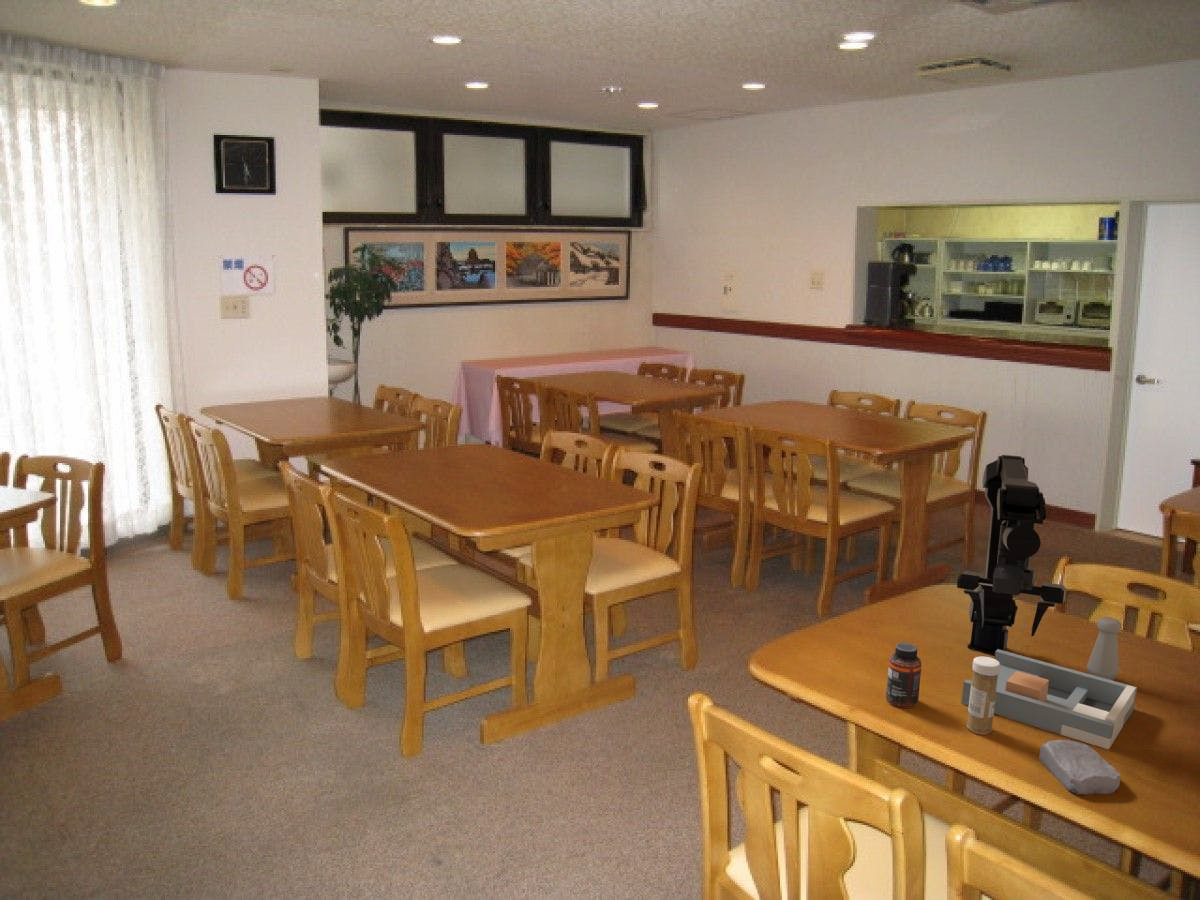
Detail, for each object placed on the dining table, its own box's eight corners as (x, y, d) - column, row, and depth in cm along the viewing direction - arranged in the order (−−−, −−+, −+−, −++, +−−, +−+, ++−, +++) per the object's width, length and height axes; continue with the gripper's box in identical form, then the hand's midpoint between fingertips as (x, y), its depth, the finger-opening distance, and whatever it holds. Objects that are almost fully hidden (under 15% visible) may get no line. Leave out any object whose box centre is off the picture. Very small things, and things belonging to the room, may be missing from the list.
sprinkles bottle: (997, 734, 183) (1006, 665, 180) (974, 736, 182) (983, 667, 179) (982, 722, 187) (990, 654, 184) (960, 724, 186) (968, 656, 183)
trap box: (961, 703, 194) (964, 679, 193) (995, 669, 209) (998, 646, 208) (1108, 749, 178) (1112, 723, 177) (1133, 709, 194) (1137, 684, 193)
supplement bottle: (918, 697, 196) (924, 643, 193) (917, 711, 190) (923, 655, 188) (886, 692, 198) (891, 638, 195) (884, 705, 192) (889, 650, 190)
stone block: (1084, 766, 176) (1031, 757, 175) (1093, 742, 175) (1040, 732, 174) (1123, 807, 165) (1067, 798, 164) (1134, 782, 164) (1078, 772, 162)
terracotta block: (1004, 700, 191) (1006, 681, 190) (1013, 689, 196) (1016, 670, 195) (1037, 710, 188) (1039, 690, 187) (1046, 699, 192) (1049, 679, 191)
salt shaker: (1120, 687, 203) (1130, 626, 200) (1089, 683, 204) (1098, 623, 201) (1112, 674, 208) (1121, 615, 205) (1082, 671, 209) (1091, 612, 207)
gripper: (955, 547, 189) (947, 630, 190) (1064, 562, 180) (1056, 648, 181) (965, 542, 199) (958, 620, 200) (1069, 555, 190) (1061, 637, 191)
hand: (1006, 631), depth 193 cm, fingers open, 9 cm apart
